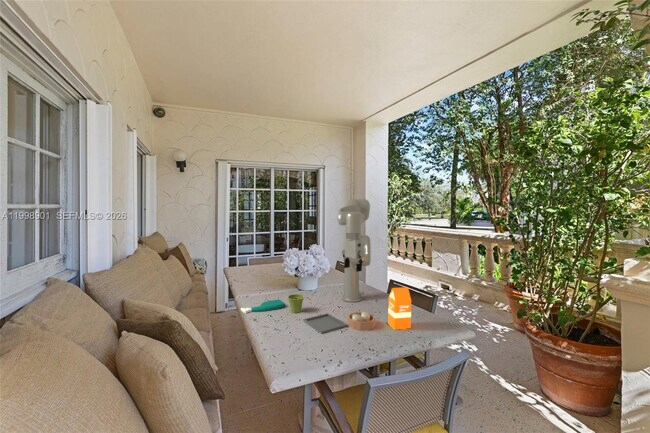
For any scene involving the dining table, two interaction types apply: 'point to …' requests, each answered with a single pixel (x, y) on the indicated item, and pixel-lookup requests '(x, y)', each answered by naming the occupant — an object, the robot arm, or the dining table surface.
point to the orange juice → (399, 308)
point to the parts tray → (325, 323)
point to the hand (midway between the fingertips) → (352, 269)
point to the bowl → (361, 323)
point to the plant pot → (295, 302)
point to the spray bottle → (265, 306)
